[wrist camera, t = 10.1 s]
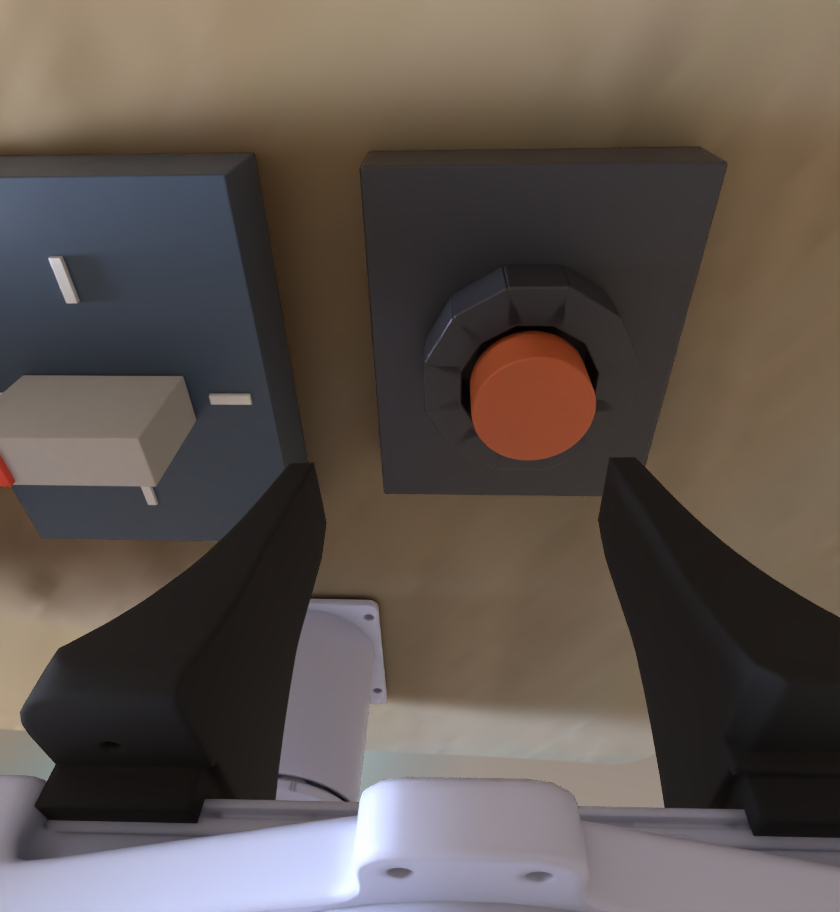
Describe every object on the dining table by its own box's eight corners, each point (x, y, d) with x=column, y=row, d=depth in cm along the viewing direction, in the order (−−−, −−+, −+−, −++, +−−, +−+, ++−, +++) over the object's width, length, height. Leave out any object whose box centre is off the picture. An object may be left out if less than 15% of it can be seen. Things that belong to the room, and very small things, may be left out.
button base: (624, 462, 25) (650, 530, 22) (388, 460, 25) (379, 526, 22) (701, 146, 17) (758, 176, 14) (367, 150, 18) (350, 181, 15)
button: (576, 429, 19) (586, 462, 18) (468, 428, 20) (469, 461, 18) (594, 329, 17) (606, 357, 16) (471, 329, 17) (473, 357, 16)
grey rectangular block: (183, 375, 19) (134, 443, 16) (197, 420, 21) (153, 492, 18) (22, 374, 20) (-56, 441, 17) (44, 419, 21) (-25, 490, 18)
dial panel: (313, 494, 27) (299, 545, 24) (77, 492, 27) (39, 541, 25) (254, 152, 18) (223, 175, 16) (-90, 157, 19) (-174, 180, 16)
